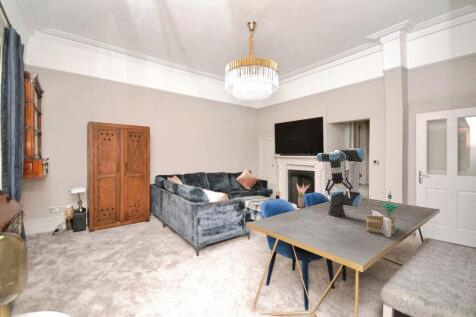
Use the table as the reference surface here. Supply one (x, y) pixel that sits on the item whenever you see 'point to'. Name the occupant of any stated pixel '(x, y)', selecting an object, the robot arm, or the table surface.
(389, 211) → the hanging basket ornament
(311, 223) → the table surface
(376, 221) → the tan faceted tapered block
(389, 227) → the cream slotted board
